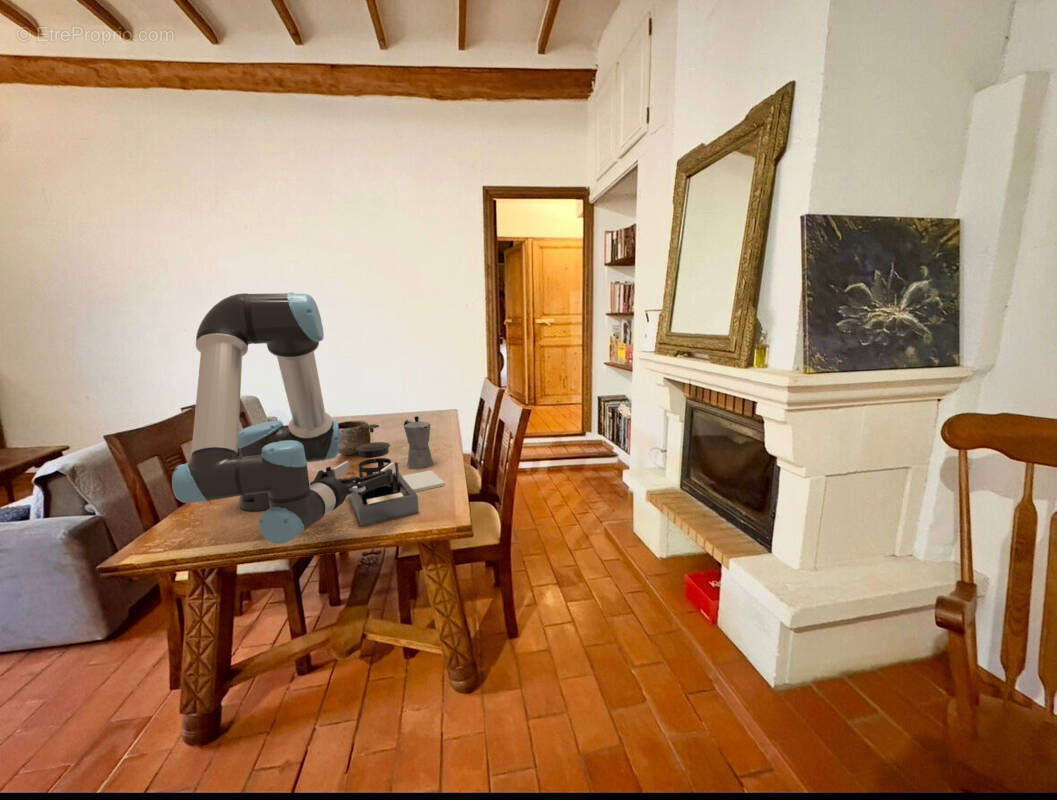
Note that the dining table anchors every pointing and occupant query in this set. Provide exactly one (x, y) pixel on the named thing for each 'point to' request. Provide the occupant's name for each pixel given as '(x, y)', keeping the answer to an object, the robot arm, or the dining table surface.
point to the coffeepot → (418, 443)
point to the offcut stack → (383, 498)
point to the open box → (386, 505)
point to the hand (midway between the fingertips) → (370, 466)
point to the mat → (423, 480)
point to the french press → (371, 452)
